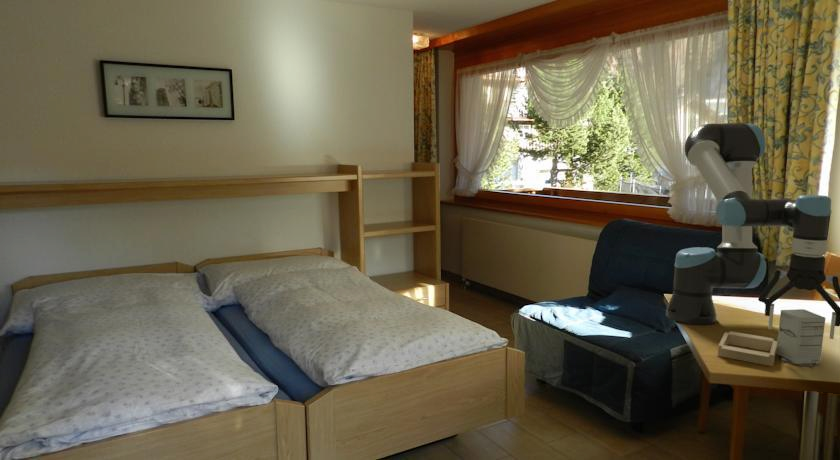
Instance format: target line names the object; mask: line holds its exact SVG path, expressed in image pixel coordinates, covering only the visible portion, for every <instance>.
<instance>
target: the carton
mask: <svg viewBox="0 0 840 460" xmlns="http://www.w3.org/2000/svg"><path fill="white" fill-rule="evenodd" d="M777 342H778V340H775V339H774V338H773V337H768V336H761V335H757V334H750V333H749V334H748V333H743V332H737V331H729V332H726V331H725V332H724V334H723V335H722V338H721V339H720V341H719V344H718V347H717V348H718V349H717V357H723V358H727V359H732V360H733V359H734V360H737V361H738V360H739V361H744V362H748V363H749V362H750V363H754V364H760V365H763V366H764V365H765V366H770V367H774V364H775V361H776V355H777V354H776V351H777ZM730 345H731V346H730ZM737 346H738V347H737ZM742 347H743V348H742ZM747 348H750V349H747ZM754 349H755V350H754ZM759 350H760V351H759ZM764 351H766V352H764Z"/></svg>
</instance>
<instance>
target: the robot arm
mask: <svg viewBox="0 0 840 460" xmlns="http://www.w3.org/2000/svg"><path fill="white" fill-rule="evenodd" d="M765 150H766V137H765V134H764V132H763V130H762V128H760V126H758V125H757V124H754V123H746V122H740V123H739V122H737V123H735V122H734V123H733V122H732V123H712V122H711V123H705V124H702V125H700V126H698V127H696V128H694V130H692V131H690V133H689V135H688V136H687V138H686V140H685V143H684V154H685V157H686V159H687V161H688V162H689V163H690V164H691V165H692V166H694V167H696V169H697V170H698V171H699V174H700V176H702V178H703V180H704V181H705V184H706V185H707V186H708V188H709V190H710V192H711V193H712V194H713V196H714V197H715V200H716V201H717V202H718V203H717V205H716V209H715V215H716V217H717V218H716V219H717V221H718V223H719V224H720V225H721V227H722V229H721V230H722V231H721V236H722V238H721V239H722V240H721V243H720V244H719V245H718V246H717V248H716V250H715V249H714V248H711V247H706V246H705V247H704V246H703V247H699V246H697V247H695V246H694V247H688V248H684V249H683V248H682V249H681V250H679V251H678V252H676V255H675V260H674V261H675V262H674V274H673V275H674V276H673V290H672V296H671V297H670V299H669V301H668V304H667V307H666V310H665V317H666V318H668V319H670V320H673V321H675V322H679V323H682V324H689V325H701V326H702V325H703V326H704V325H711V324H714V323H716V322H717V312H716V307H715V305H714V300H713V289H739V290H740V289H741V290H743V289H744V290H745V289H754V288H757V287H758V286H760V284H761V282H763V280H764V278H765V277H766V274H767V273H766V271H767V261H766V259H765V256H764V255H763V254H762V253H760V252H759V251H758V250H759V249H758V246H757V245H755V243H754V242H753V227H788V228H792V241H791V249H790V252H792V253H791V254H790V260H789V268H788V271H786V270H782V269H781V268H776V270H775V272H774V276H773V278H772V279H771V280H770V281H769V283H768V284H767V286H766V287H765V288H764V290H763V291H762V292H761V294H759V296H758V299H757V300H758V301H759V302H760V303H763V304H764V305H765V309H764V315H765V317H769V318H768V326H767V328H768V330H772V329H773V323H774V322H773V321H774V314H775V313H774V311H775V303H774V302H775V301H777V300H778V299H779V298H781V297H782V296H784V295H785V294H786V293H787V292H788V291H790V290H792V289H793V288H796V289H797V290H806V291H811V292H812V291H814V290H816V291H817V293H818V294H820V296H821V297H822V298H823V299H824V300H825V301H826V303H827V304H828V305H829V306H830V307H831V309H832V310H833V311H832V312H831V319H830V322H831V323H830V331H829V339H830V340H834V337H835V329H836V328H835V327H839V328H840V306H839V305H838V303H837V302H836V301H835V300H834V298H833V297H831V295H830V294H829V293H828V292H827V291H826V290H825V288H824V286H823V285H822V284H823V283H824V282H825V281H827V282H828V283H829V284H830V285H832V287H833V289H834V292H835V293H836V296H837V298H838V300H839V301H840V284H839V275H837V274H833V275H826V274H825V268H826V259H827V258H826V257H825V255H826V254H827V248H828V237H829V229H830V223H831V214H832V199H831V197H829V196H827V195H819V194H800V195H798V196H796V199H792V198H790V197H787V198H786V197H778V198H770V199H767V198H764V199H763V198H754V199H753V183H752V182H753V179H752V177H753V174H752V173H753V172H752V171H753V170H752V169H754V167H756V165H758V160H759V159H760V158H762V157H763V155H764V154H765ZM716 251H717V252H716ZM785 276H786V277H787V279H788V282H787V283H786V284H785V285H784V286H782V287H781V288H780V289H779V290H777V291H776V292H774V293H773V294H772V295H770V296H769V297H767V296H768V295H769V294H770V293H771V291H772V290H773V289H774V287H775V285H776V284H777V283H778V282H779V280H780V279H783V278H784V277H785Z"/></svg>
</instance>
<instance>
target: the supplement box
mask: <svg viewBox="0 0 840 460" xmlns="http://www.w3.org/2000/svg"><path fill="white" fill-rule="evenodd" d="M825 325H826V317H825V316H822V315H820V314H817V313H814V312H812V311H809V310H807V309H800V308H799V309H781V310H780V316H779V323H778V333H777V351H776V355H778V356H781V357H782V356H783V357H784V358H786V359H788V360H790V361H792V362H793V363H795V364H794V365H797V364H802V363H813V364H821V358H822V350H823V343H824V342H823V340H824V335H825V334H824V333H825Z"/></svg>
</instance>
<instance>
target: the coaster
mask: <svg viewBox="0 0 840 460" xmlns="http://www.w3.org/2000/svg"><path fill="white" fill-rule="evenodd" d="M780 361H781V362H782V363H788V364H793V365H796V366H797V365H798V366H803V367H809V368H813V367H814V363H802V364H795V363H793V362H792V361H790V360H788V359H786V358H784V357H783V356H781V358H780Z"/></svg>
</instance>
